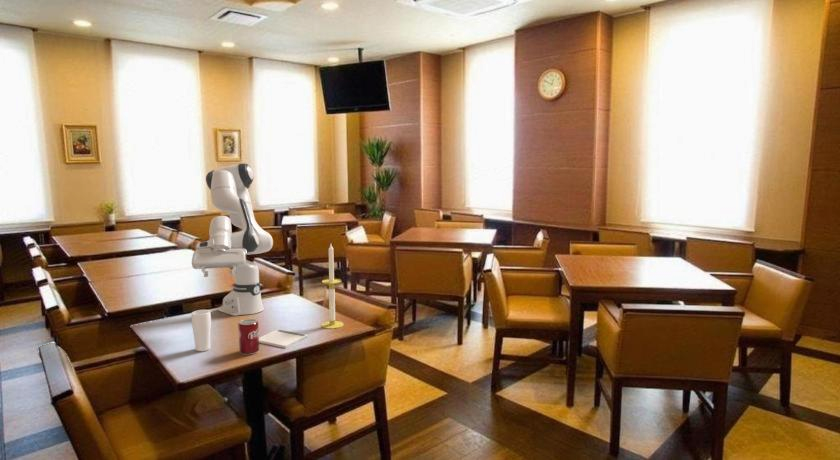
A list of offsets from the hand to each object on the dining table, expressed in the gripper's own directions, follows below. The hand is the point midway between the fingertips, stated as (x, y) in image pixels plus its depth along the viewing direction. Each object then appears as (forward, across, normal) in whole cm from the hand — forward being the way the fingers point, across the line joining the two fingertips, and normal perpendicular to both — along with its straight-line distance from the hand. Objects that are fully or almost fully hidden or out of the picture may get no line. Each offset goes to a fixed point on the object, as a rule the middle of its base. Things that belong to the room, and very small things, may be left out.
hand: (218, 275), depth 193 cm
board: (+22, -24, -17) cm, 36 cm away
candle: (+13, -46, -25) cm, 54 cm away
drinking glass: (+24, +6, -16) cm, 29 cm away
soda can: (+29, -11, -10) cm, 33 cm away
